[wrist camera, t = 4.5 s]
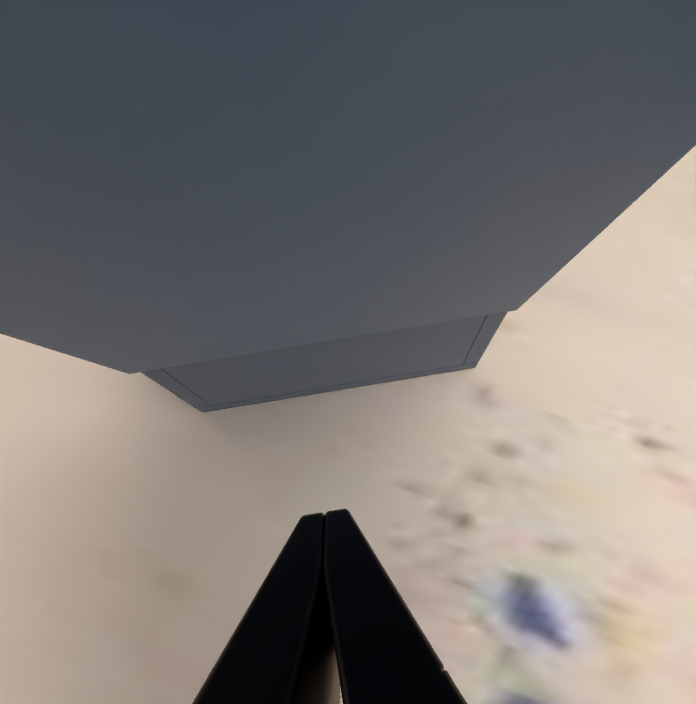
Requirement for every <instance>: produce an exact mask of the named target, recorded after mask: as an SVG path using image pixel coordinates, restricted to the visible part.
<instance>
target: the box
mask: <svg viewBox="0 0 696 704" xmlns="http://www.w3.org/2000/svg"><path fill="white" fill-rule="evenodd" d="M506 314H507V312H501V313H495V314H489V315H483V316H477V317H471V318H465V319H459V320H453V321H447V322H441V323H435V324H429V325H423V326H416V327H410V328H404V329H398V330H392V331H386V332H380V333H374V334H368V335H362V336H356V337H350V338H344V339H338V340H331V341H325V342H319V343H313V344H307V345H301V346H295V347H289V348H283V349H277V350H271V351H265V352H259V353H253V354H246V355H240V356H234V357H228V358H222V359H216V360H210V361H204V362H198V363H192V364H186V365H180V366H174V367H168V368H161V369H155V370H149V371H143V372H142V373H143V374H145V375H146V376H148V377H149V378H151V379H152V380H154V381H155V382H157V383H158V384H160V385H161V386H163V387H164V388H166V389H167V390H169V391H170V392H172V393H173V394H175V395H176V396H178V397H179V398H181V399H182V400H184V401H185V402H187V403H188V404H190V405H191V406H193V407H194V408H196V409H198V410H199V411H201V412H206V411H213V410H219V409H225V408H231V407H237V406H243V405H249V404H255V403H261V402H267V401H274V400H280V399H286V398H292V397H298V396H304V395H310V394H316V393H322V392H328V391H335V390H341V389H347V388H353V387H359V386H365V385H371V384H377V383H383V382H389V381H396V380H402V379H408V378H414V377H420V376H426V375H432V374H438V373H444V372H450V371H457V370H463V369H469V368H474V367H476V365H477V363H478V361H479V360H480V358H481V357H482V355H483V353H484V351H485V350H486V348H487V346H488V345H489V343H490V341H491V339H492V338H493V336H494V334H495V332H496V331H497V329H498V327H499V326H500V324H501V322H502V320H503V319H504V317H505V315H506Z"/></svg>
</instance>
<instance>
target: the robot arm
mask: <svg viewBox="0 0 696 704" xmlns="http://www.w3.org/2000/svg"><path fill="white" fill-rule="evenodd" d="M340 686H341V692H342V699H343V704H467V702H466V701H465V699H464V698H463V696H462V695H461V693H460V691H459V690H458V688H457V687H456V685H455V683H454V682H453V680H452V678H451V677H450V675H449V673H448V672H447V671H446V670H444V666H443V664H442V663H441V661H440V659H439V658H438V656H437V654H436V653H435V651H434V649H433V648H432V646H431V645H430V643H429V641H428V640H427V638H426V636H425V635H424V633H423V631H422V630H421V628H420V627H419V625H418V623H417V622H416V620H415V618H414V617H413V615H412V613H411V612H410V610H409V609H408V607H407V605H406V604H405V602H404V600H403V599H402V597H401V595H400V594H399V592H398V591H397V589H396V587H395V586H394V584H393V582H392V581H391V579H390V577H389V576H388V574H387V573H386V571H385V569H384V568H383V566H382V564H381V563H380V561H379V559H378V558H377V556H376V555H375V553H374V551H373V550H372V548H371V546H370V545H369V543H368V541H367V540H366V538H365V537H364V535H363V533H362V532H361V530H360V528H359V527H358V525H357V523H356V522H355V520H354V519H353V517H352V515H351V514H350V512H349V511H348V510H347V509H340V510H334V511H328V512H327V513H326V515H324V514H323V513H315V514H309V515H304V516H302V517H301V518H300V520H299V522H298V523H297V525H296V527H295V529H294V530H293V532H292V534H291V535H290V537H289V539H288V541H287V542H286V544H285V546H284V547H283V549H282V551H281V553H280V554H279V556H278V558H277V559H276V561H275V563H274V565H273V566H272V568H271V570H270V571H269V573H268V575H267V577H266V578H265V580H264V582H263V583H262V585H261V587H260V589H259V590H258V592H257V594H256V595H255V597H254V599H253V601H252V602H251V604H250V606H249V607H248V609H247V611H246V613H245V614H244V616H243V618H242V619H241V621H240V623H239V625H238V626H237V628H236V630H235V631H234V633H233V635H232V636H231V638H230V640H229V642H228V643H227V645H226V647H225V648H224V650H223V652H222V654H221V655H220V657H219V659H218V660H217V662H216V664H215V666H214V667H213V669H212V671H211V672H210V674H209V676H208V678H207V679H206V681H205V683H204V684H203V686H202V688H201V690H200V691H199V693H198V695H197V696H196V698H195V700H194V702H193V703H192V704H340Z"/></svg>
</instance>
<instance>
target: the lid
mask: <svg viewBox="0 0 696 704" xmlns="http://www.w3.org/2000/svg"><path fill="white" fill-rule="evenodd" d="M695 145H696V0H0V333H1V334H4V335H7V336H10V337H13V338H16V339H20V340H23V341H26V342H29V343H32V344H36V345H39V346H42V347H45V348H48V349H52V350H55V351H58V352H61V353H64V354H68V355H71V356H74V357H77V358H80V359H83V360H87V361H90V362H93V363H96V364H99V365H103V366H106V367H109V368H112V369H115V370H119V371H122V372H125V373H128V374H131V373H137V372H143V371H149V370H155V369H161V368H168V367H174V366H180V365H186V364H192V363H198V362H204V361H210V360H216V359H222V358H228V357H234V356H240V355H246V354H253V353H259V352H265V351H271V350H277V349H283V348H289V347H295V346H301V345H307V344H313V343H319V342H325V341H331V340H338V339H344V338H350V337H356V336H362V335H368V334H374V333H380V332H386V331H392V330H398V329H404V328H410V327H416V326H423V325H429V324H435V323H441V322H447V321H453V320H459V319H465V318H471V317H477V316H483V315H489V314H495V313H501V312H508V311H514V310H517V309H518V308H519V307H520V306H522V305H523V304H524V303H525V302H526V301H527V300H528V299H529V298H530V297H531V296H532V295H533V294H535V293H536V292H537V291H538V290H539V289H540V288H541V287H542V286H543V285H544V284H545V283H546V282H548V281H549V280H550V279H551V278H552V277H553V276H554V275H555V274H556V273H557V272H558V271H560V270H561V269H562V268H563V267H564V266H565V265H566V264H567V263H568V262H569V261H570V260H571V259H573V258H574V257H575V256H576V255H577V254H578V253H579V252H580V251H581V250H582V249H583V248H584V247H586V246H587V245H588V244H589V243H590V242H591V241H592V240H593V239H594V238H595V237H596V236H597V235H599V234H600V233H601V232H602V231H603V230H604V229H605V228H606V227H607V226H608V225H609V224H611V223H612V222H613V221H614V220H615V219H616V218H617V217H618V216H619V215H620V214H621V213H622V212H624V211H625V210H626V209H627V208H628V207H629V206H630V205H631V204H632V203H633V202H634V201H635V200H637V199H638V198H639V197H640V196H641V195H642V194H643V193H644V192H645V191H646V190H647V189H649V188H650V187H651V186H652V185H653V184H654V183H655V182H656V181H657V180H658V179H659V178H660V177H662V176H663V175H664V174H665V173H666V172H667V171H668V170H669V169H670V168H671V167H672V166H673V165H675V164H676V163H677V162H678V161H679V160H680V159H681V158H682V157H683V156H684V155H685V154H686V153H688V152H689V151H690V150H691V149H692V148H693V147H694V146H695Z"/></svg>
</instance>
